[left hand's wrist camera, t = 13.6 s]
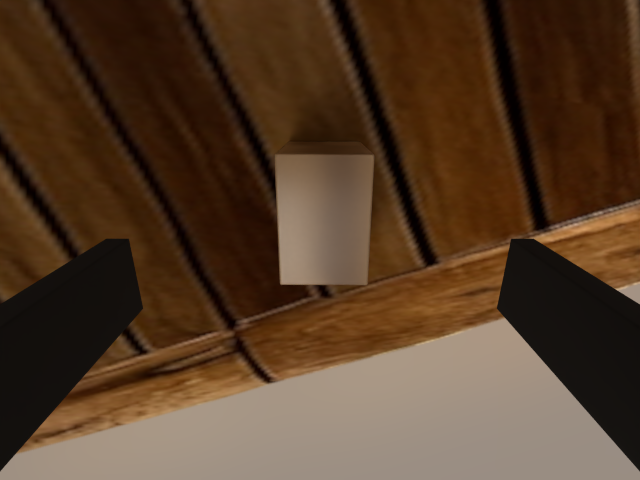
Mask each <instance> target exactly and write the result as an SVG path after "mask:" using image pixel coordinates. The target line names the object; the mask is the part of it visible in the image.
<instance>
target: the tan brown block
mask: <svg viewBox="0 0 640 480" xmlns="http://www.w3.org/2000/svg"><path fill="white" fill-rule="evenodd" d="M374 157H375V156H374V154H373V153H372V152H371V151H370V150H368V149H367V148H366V147H365V146H364V145H363V144H362V143H361V142H314V141H289V142H288V143H287V144H286V145H285V146H283V147H282V148H281V149H280V150H279V151H278V152H277V153H276V154H275V179H276V202H277V225H278V248H279V272H280V284H281V285H367V284H368V268H369V249H370V231H371V212H372V194H373V175H374Z"/></svg>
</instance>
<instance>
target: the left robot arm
mask: <svg viewBox="0 0 640 480" xmlns="http://www.w3.org/2000/svg"><path fill="white" fill-rule="evenodd" d="M142 309H143V306H142V301H141V296H140V291H139V286H138V282H137V277H136V272H135V267H134V262H133V257H132V252H131V248H130V243H129V239H105V240H104V241H102V242H100V243H99V244H97V245H96V246H94V247H92V248H91V249H89V250H88V251H86V252H84V253H83V254H81V255H79V256H78V257H76V258H75V259H73V260H71V261H70V262H68V263H67V264H65V265H63V266H62V267H60V268H58V269H57V270H55V271H54V272H52V273H50V274H49V275H47V276H46V277H44V278H42V279H41V280H39V281H37V282H36V283H34V284H33V285H31V286H29V287H28V288H26V289H24V290H23V291H21V292H20V293H18V294H16V295H15V296H13V297H12V298H10V299H8V300H7V301H5V302H3V303H2V304H0V471H1V470H2V469H3V468H4V466H5V465H6V464H7V463H8V462H9V461H10V459H11V458H12V457H13V456H14V455H15V454H16V453H17V452H18V450H19V449H20V448H21V447H22V446H23V445H24V444H25V442H26V441H27V440H28V439H29V438H30V437H31V436H32V434H33V433H34V432H35V431H36V430H37V429H38V428H39V426H40V425H41V424H42V423H43V422H44V421H45V420H46V418H47V417H48V416H49V415H50V414H51V413H52V412H53V411H54V409H55V408H56V407H57V406H58V405H59V404H60V403H61V401H62V400H63V399H64V398H65V397H66V396H67V395H68V393H69V392H70V391H71V390H72V389H73V388H74V387H75V385H76V384H77V383H78V382H79V381H80V380H81V379H82V377H83V376H84V375H85V374H86V373H87V372H88V371H89V369H90V368H91V367H92V366H93V365H94V364H95V363H96V362H97V360H98V359H99V358H100V357H101V356H102V355H103V354H104V352H105V351H106V350H107V349H108V348H109V347H110V346H111V344H112V343H113V342H114V341H115V340H116V339H117V338H118V336H119V335H120V334H121V333H122V332H123V331H124V330H125V328H126V327H127V326H128V325H129V324H130V323H131V322H132V320H133V319H134V318H135V317H136V316H137V315H138V314H139V312H140V311H141V310H142ZM497 309H498V310H499V311H500V312H501V314H502V315H503V316H504V317H505V318H506V319H507V320H508V322H509V323H510V324H511V325H512V326H513V327H514V328H515V330H516V331H517V332H518V333H519V334H520V335H521V336H522V338H523V339H524V340H525V341H526V342H527V343H528V344H529V346H530V347H531V348H532V349H533V350H534V351H535V352H536V354H537V355H538V356H539V357H540V358H541V359H542V360H543V362H544V363H545V364H546V365H547V366H548V367H549V368H550V369H551V371H552V372H553V373H554V374H555V375H556V376H557V377H558V379H559V380H560V381H561V382H562V383H563V384H564V385H565V387H566V388H567V389H568V390H569V391H570V392H571V393H572V395H573V396H574V397H575V398H576V399H577V400H578V401H579V403H580V404H581V405H582V406H583V407H584V408H585V409H586V410H587V412H588V413H589V414H590V415H591V416H592V417H593V418H594V420H595V421H596V422H597V423H598V424H599V425H600V426H601V428H602V429H603V430H604V431H605V432H606V433H607V434H608V436H609V437H610V438H611V439H612V440H613V441H614V442H615V444H616V445H617V446H618V447H619V448H620V449H621V450H622V452H623V453H624V454H625V455H626V456H627V457H628V458H629V460H630V461H631V462H632V463H633V464H634V465H635V466H636V467H637V469H638V470H639V471H640V304H638V303H637V302H635V301H633V300H632V299H630V298H628V297H627V296H625V295H624V294H622V293H620V292H619V291H617V290H616V289H614V288H612V287H611V286H609V285H607V284H606V283H604V282H603V281H601V280H599V279H598V278H596V277H594V276H593V275H591V274H590V273H588V272H586V271H585V270H583V269H582V268H580V267H578V266H577V265H575V264H573V263H572V262H570V261H569V260H567V259H565V258H564V257H562V256H561V255H559V254H557V253H556V252H554V251H552V250H551V249H549V248H548V247H546V246H544V245H543V244H541V243H540V242H538V241H536V240H535V239H511V243H510V248H509V252H508V257H507V262H506V267H505V272H504V277H503V282H502V286H501V291H500V296H499V301H498V306H497Z"/></svg>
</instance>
